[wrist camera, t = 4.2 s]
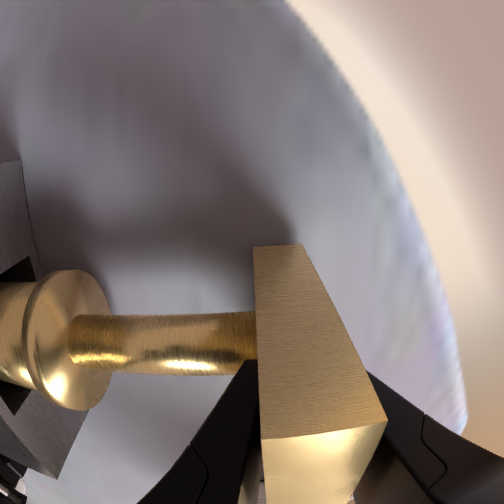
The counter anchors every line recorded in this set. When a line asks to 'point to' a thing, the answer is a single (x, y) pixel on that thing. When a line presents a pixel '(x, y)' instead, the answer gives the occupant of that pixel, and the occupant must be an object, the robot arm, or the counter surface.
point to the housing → (11, 395)
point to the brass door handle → (214, 364)
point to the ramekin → (18, 487)
